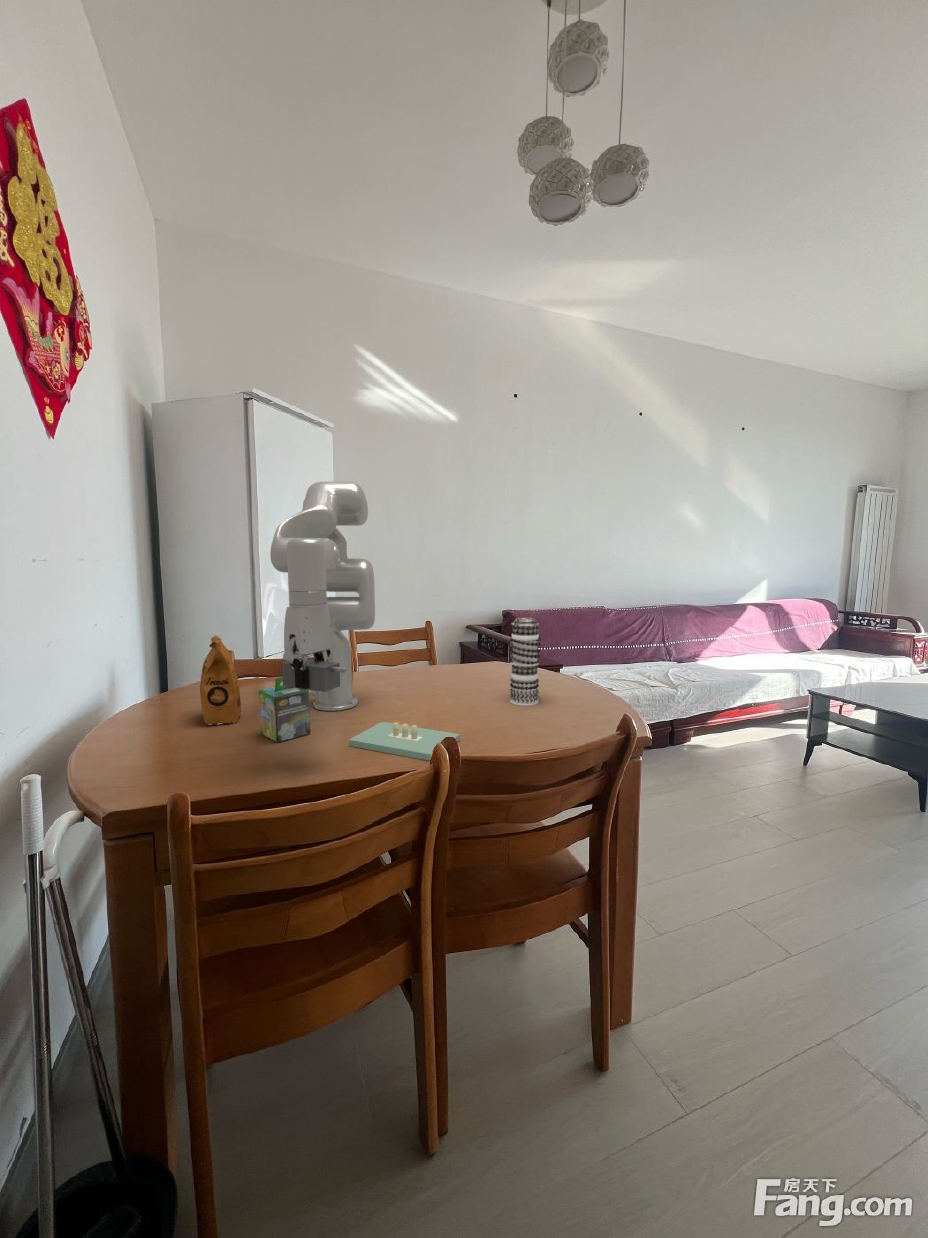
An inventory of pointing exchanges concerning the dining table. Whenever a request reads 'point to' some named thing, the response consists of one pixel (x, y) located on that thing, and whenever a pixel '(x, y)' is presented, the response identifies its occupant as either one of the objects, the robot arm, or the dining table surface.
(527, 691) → the decorative candle
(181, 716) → the dining table surface
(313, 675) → the plug housing
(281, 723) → the chalk box
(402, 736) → the header board
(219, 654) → the coffee package
